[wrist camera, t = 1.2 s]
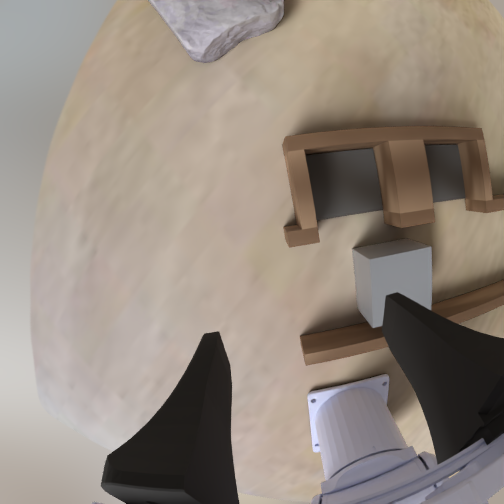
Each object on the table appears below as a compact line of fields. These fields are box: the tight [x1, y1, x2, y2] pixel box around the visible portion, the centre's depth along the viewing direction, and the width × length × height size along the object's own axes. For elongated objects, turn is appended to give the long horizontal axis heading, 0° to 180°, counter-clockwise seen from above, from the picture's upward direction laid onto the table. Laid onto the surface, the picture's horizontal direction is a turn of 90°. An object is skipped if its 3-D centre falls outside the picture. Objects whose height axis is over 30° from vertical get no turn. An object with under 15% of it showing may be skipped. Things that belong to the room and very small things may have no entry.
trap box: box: [282, 126, 504, 365], centre depth 19 cm, size 16×26×3 cm, turn 100°
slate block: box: [352, 238, 432, 328], centre depth 20 cm, size 5×5×4 cm
